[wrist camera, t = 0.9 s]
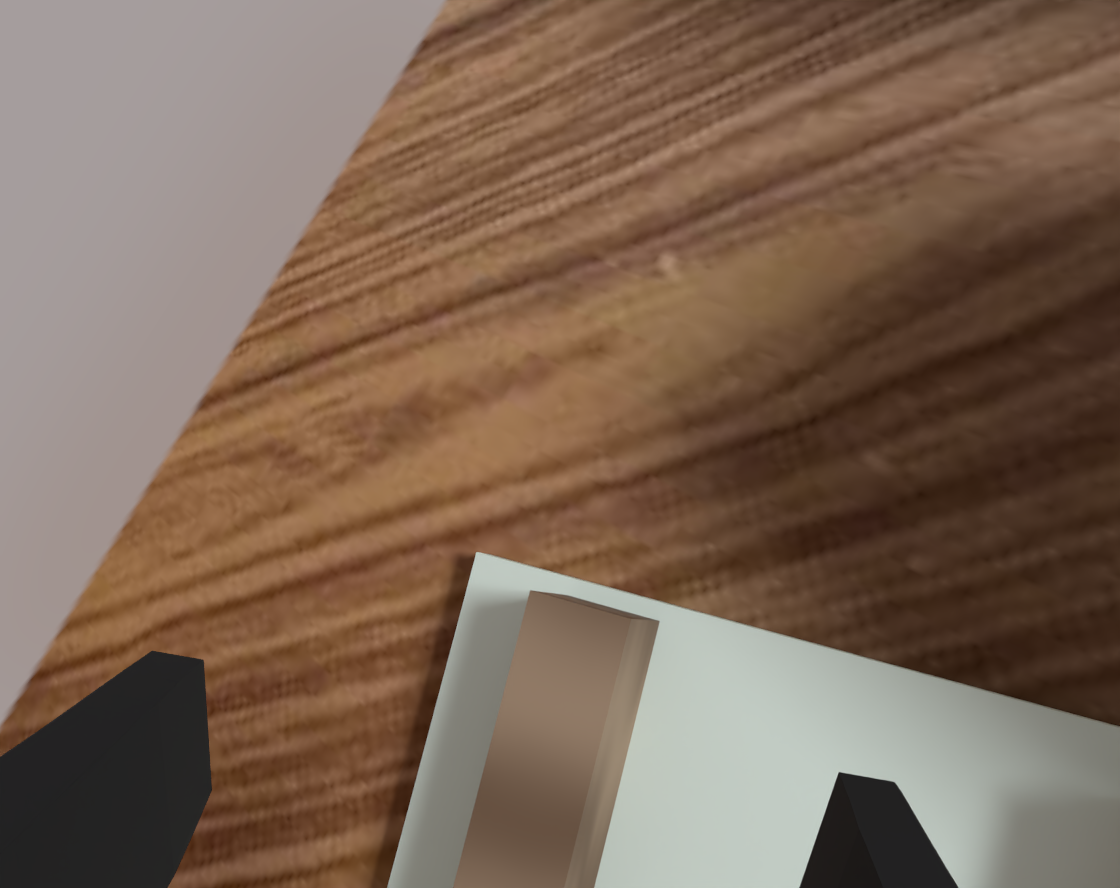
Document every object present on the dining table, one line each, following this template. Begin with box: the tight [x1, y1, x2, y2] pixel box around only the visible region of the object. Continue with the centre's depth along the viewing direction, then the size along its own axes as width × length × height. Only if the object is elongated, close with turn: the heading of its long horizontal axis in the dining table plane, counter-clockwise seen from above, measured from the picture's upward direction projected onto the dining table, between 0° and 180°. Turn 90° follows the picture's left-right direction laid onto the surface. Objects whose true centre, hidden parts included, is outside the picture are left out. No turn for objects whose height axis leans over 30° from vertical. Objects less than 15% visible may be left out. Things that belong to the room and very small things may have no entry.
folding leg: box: [453, 590, 660, 888], centre depth 26 cm, size 12×3×3 cm, turn 165°
